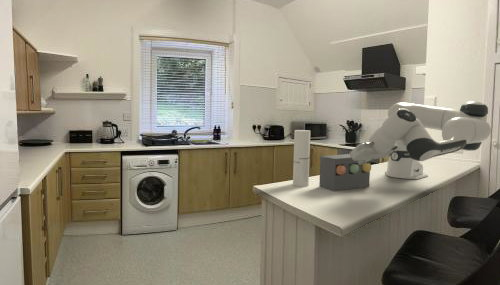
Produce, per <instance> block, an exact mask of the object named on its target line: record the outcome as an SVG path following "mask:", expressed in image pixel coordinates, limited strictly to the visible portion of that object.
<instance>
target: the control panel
mask: <svg viewBox="0 0 500 285" xmlns="http://www.w3.org/2000/svg"><path fill="white" fill-rule="evenodd" d="M319 158H320V162H319V163H320V164H319V186H318V188H322V189H324V190H328V191H332V192H339V191H346V190H352V189H360V188H366V187H367V188H368V187H370V178H371V177H370V176H371V171H370V172H364V171H362V164H361V165H359V164H358V161H359V160H358V161H353V160H352V158H351V157H350V153H347V154H344V153H343V154H331V155H320V157H319ZM366 163H369V164H371V160H370V161H368V162H366ZM350 164H356V165H358V166H359V171H358V172H357V173H356V174H354V173H350V172H349V165H350ZM336 165H341V166H344V167H345V168H346V172H345V174H344V175H339V174H336Z"/></svg>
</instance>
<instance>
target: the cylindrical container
mask: <svg viewBox="0 0 500 285" xmlns="http://www.w3.org/2000/svg"><path fill="white" fill-rule="evenodd" d="M293 134H294V135H293V136H294V137H293V140H294V141H293V165H292V166H293V167H292V168H293V171H292V185H293V186H294V187H302V188H303V187H305V188H307V187H309V183H310V153H311V130H307V129H306V130H305V129H295V130H294V132H293Z"/></svg>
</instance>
